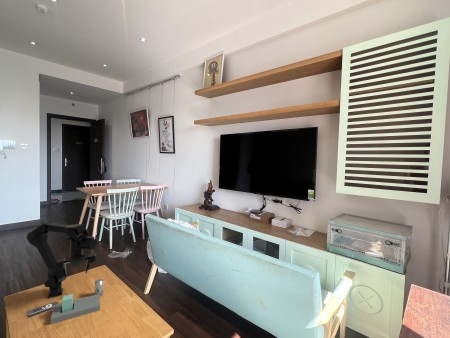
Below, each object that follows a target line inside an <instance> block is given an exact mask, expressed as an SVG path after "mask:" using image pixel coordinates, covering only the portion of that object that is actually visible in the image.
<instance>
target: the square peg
mask: <svg viewBox="0 0 450 338" xmlns="http://www.w3.org/2000/svg"><path fill="white" fill-rule="evenodd" d="M73 295H74V294H73V293H71V294H65V295H63V296H62V300H61V303H62V311H61V313H62V312H66V311H69V310H73V309H74V308H73V300H74V298H73Z"/></svg>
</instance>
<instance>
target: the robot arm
mask: <svg viewBox="0 0 450 338" xmlns="http://www.w3.org/2000/svg"><path fill="white" fill-rule="evenodd" d="M50 232H53V233H60V234H64V235H65V236H66V237H67V238H66V241H69V242H70V243H69V253H70V255H69V258H68V259H66V258H65V257H63V258H56V256H55V254H54V252H53V250H52V248H51V247H50V245H49V242H48V239H49V236H48V234H49V233H50ZM26 240H27V241H28V243H29V244H30V245H31V246H33V247H36V249H37V251H38V252H39V254H40V256H41V258H42V261H43V262H44V264H45V265H46V267H47V270H48V271H47V278H48V279H47V280H46V281H45V282H44V283H43V284H44V287H45V288H48V293H47V294H48V295H47V297H46V298H47V299H51V298H54V297H58V296H59V297H60V296H62V295H63V293H64V291H63V290H64V288H63V286H62V285H63V283H62V282H63V281H66V279H67V277H68V275H69V272H68V271H69V269H68V268H67V265H68V264H69V265H70V268H74V267H80V266H81V265H82V264H83V263H85V262H86V266H85V274H87V272H88V270H89V267H90V266H91V264H93V263H94V262H96V261H97V254H96V253H95V252H93V253H88V254H87V256H86V254H84V255H83V253H84V251H83V250H90V251H92V250H93V251H94V250H95V248H97V245H98V241H97V239H96V238H95V236H90V234H89V232H88V231H87V229H86V227H85V225H84V224H82V223H81V224H80V223H77V224H63V223H58V222H57V223H56V222H52V221H48V222H45V223H44V222H43V223H42V224H41V225H39V226H38V227H37V228H35V229H33V230H32V231H30V232H28V233H27V235H26ZM66 264H67V265H66Z"/></svg>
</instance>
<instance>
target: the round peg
mask: <svg viewBox="0 0 450 338" xmlns="http://www.w3.org/2000/svg"><path fill="white" fill-rule="evenodd" d="M96 294H99V297H101V296H103V295H104V279H102V278H98V279H96V280H95V281H94V295H96Z"/></svg>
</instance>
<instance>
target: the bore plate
mask: <svg viewBox="0 0 450 338" xmlns="http://www.w3.org/2000/svg"><path fill="white" fill-rule="evenodd" d="M100 297H101V296H100ZM100 297H99V294H96V295H95V294H93V295H89V296H85V297H82V298H77V299H73V309H72V310H69V311H66V312H62V302H61V303H58V304H57V303H56V304H54V305H53V307H52V312H51V316H50V325H53V324H56V323H59V322H64V321H67V320H70V319H74V318H77V317H80V316H85V315H88V314H91V313H94V312H95V313H96V312H98V311H100V310H101V302H100V301H101V300H100V299H101V298H100Z"/></svg>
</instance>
